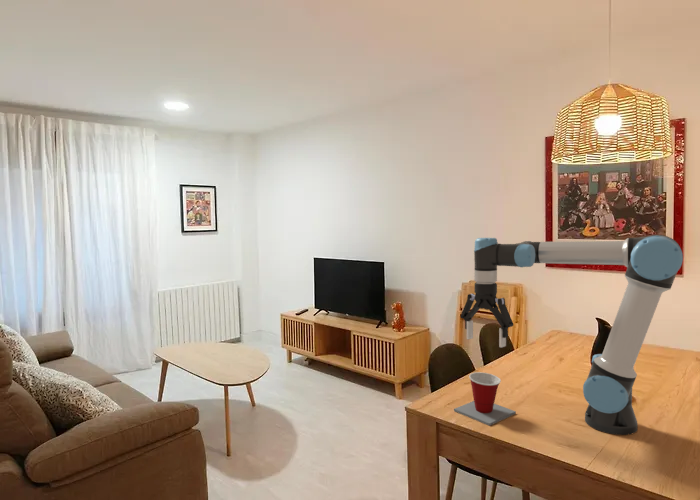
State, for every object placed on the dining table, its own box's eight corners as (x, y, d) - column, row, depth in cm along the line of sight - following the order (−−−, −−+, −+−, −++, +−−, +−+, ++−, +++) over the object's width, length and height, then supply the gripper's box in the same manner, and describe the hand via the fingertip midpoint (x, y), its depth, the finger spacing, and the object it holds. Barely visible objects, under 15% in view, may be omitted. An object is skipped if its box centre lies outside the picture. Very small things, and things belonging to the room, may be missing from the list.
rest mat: (515, 413, 162) (515, 411, 162) (489, 425, 153) (489, 423, 153) (480, 400, 174) (480, 398, 174) (453, 411, 165) (453, 408, 165)
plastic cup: (492, 419, 156) (492, 384, 155) (463, 411, 163) (463, 377, 162) (505, 409, 164) (506, 376, 163) (477, 401, 171) (477, 369, 170)
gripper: (524, 284, 152) (524, 348, 154) (463, 277, 172) (463, 334, 174) (511, 287, 148) (510, 352, 149) (450, 279, 168) (450, 337, 169)
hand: (485, 342), depth 162 cm, fingers open, 13 cm apart
